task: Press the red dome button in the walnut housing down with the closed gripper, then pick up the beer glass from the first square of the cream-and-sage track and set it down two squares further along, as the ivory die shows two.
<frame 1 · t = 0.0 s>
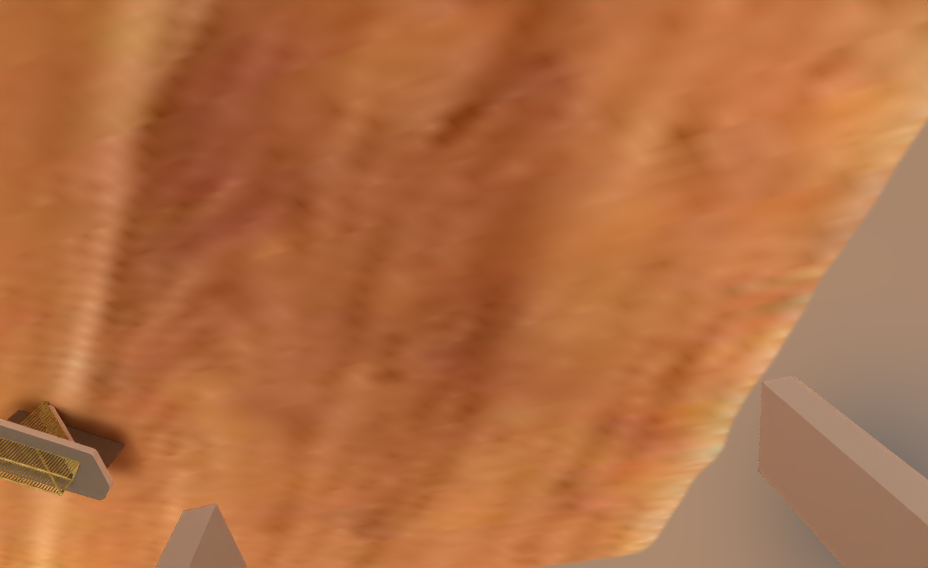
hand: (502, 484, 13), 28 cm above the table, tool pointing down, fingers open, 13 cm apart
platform: (80, 415, 42), on the table
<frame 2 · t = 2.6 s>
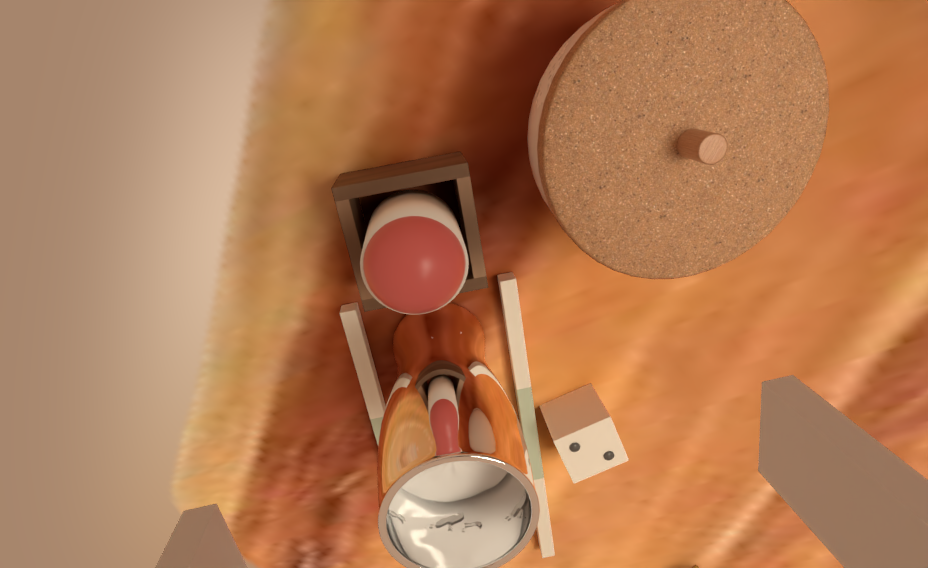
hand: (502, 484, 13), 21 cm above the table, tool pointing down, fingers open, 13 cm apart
button housing: (413, 220, 32), on the table
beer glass: (438, 341, 35), on the table
dome button: (414, 255, 26), point 6 cm above the table, slide at 0.0 cm
lidded bowl: (610, 122, 31), on the table
die: (573, 414, 39), on the table
track: (459, 438, 38), on the table
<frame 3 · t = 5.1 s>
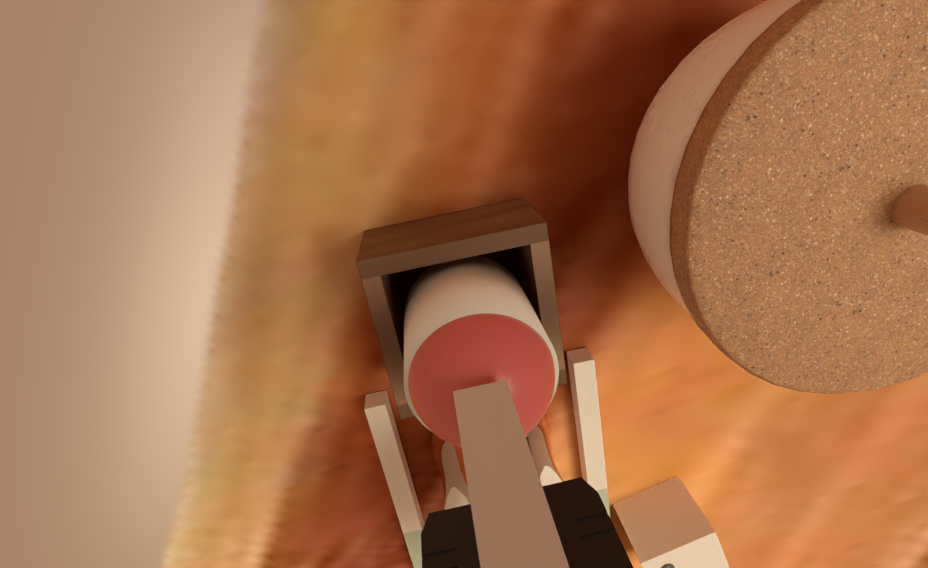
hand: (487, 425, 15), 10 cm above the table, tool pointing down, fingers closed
button housing: (459, 287, 24), on the table
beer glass: (489, 433, 28), on the table
dome button: (476, 356, 18), point 6 cm above the table, slide at -0.1 cm, touching gripper
lidded bowl: (722, 154, 23), on the table
die: (654, 512, 31), on the table
track: (512, 546, 30), on the table
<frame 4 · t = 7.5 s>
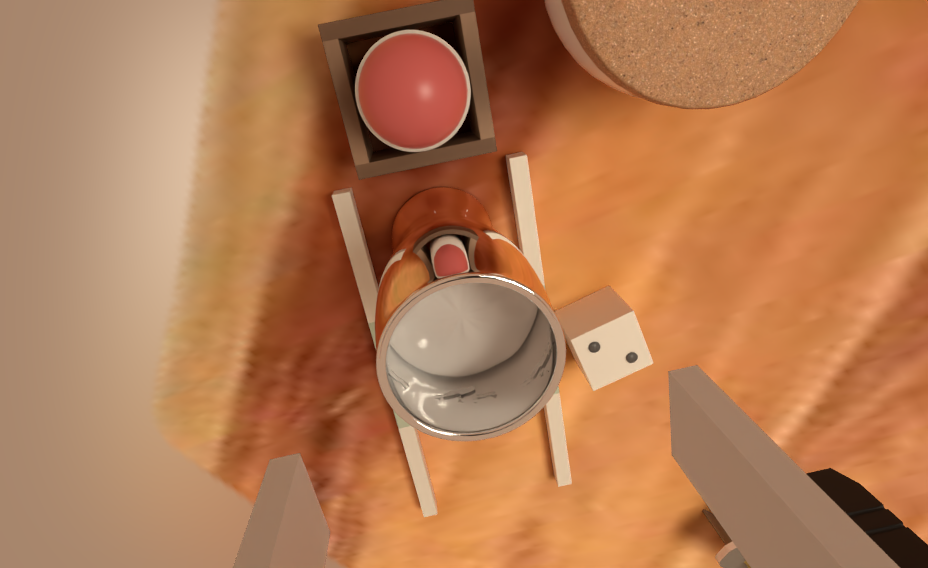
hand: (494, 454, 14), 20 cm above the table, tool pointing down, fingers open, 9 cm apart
button housing: (411, 89, 29), on the table
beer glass: (442, 235, 32), on the table
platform: (739, 513, 44), on the table
dome button: (412, 92, 24), point 5 cm above the table, slide at -1.9 cm
die: (590, 322, 35), on the table
track: (466, 350, 35), on the table
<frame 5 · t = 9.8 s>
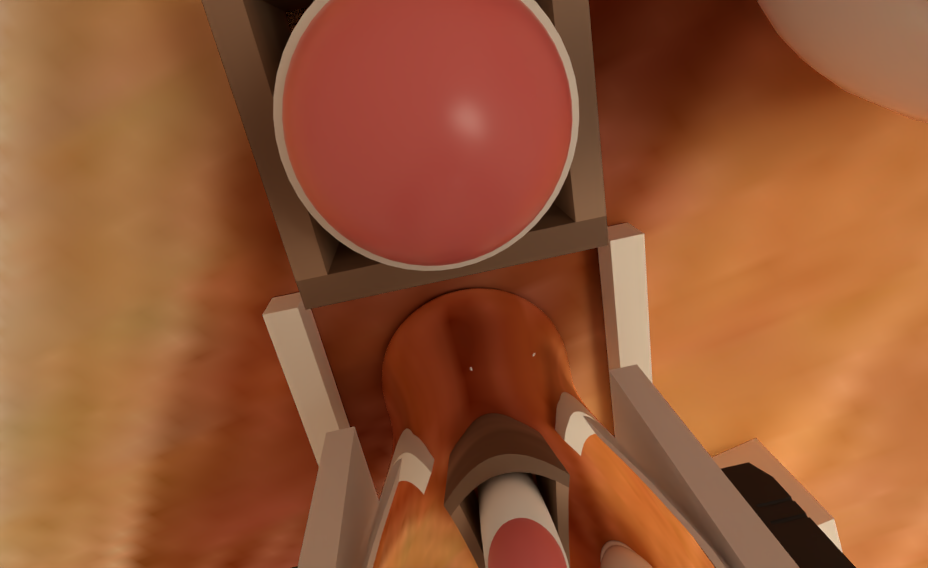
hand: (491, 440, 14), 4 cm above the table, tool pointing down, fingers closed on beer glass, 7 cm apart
button housing: (419, 106, 14), on the table
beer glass: (473, 368, 18), on the table, touching gripper
dome button: (427, 120, 10), point 5 cm above the table, slide at -1.9 cm
die: (718, 493, 21), on the table
track: (510, 543, 21), on the table
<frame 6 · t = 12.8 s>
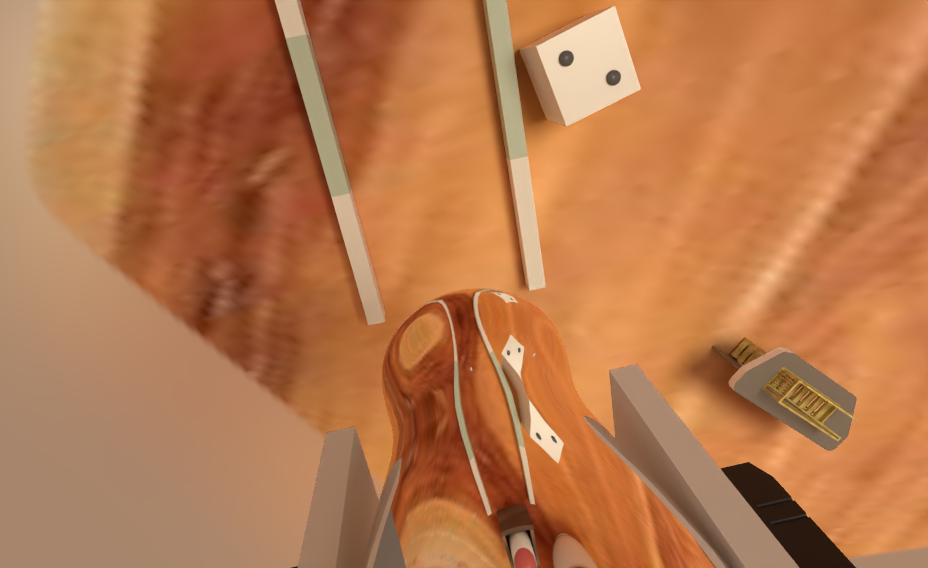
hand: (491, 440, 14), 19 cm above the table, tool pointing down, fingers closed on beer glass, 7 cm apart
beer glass: (473, 368, 18), point 15 cm above the table, touching gripper
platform: (753, 358, 38), on the table
die: (565, 68, 29), on the table
track: (413, 99, 29), on the table
when the fingers open (5 cm above the table, at t = 15.7 s): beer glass drops 1 cm, on the table.
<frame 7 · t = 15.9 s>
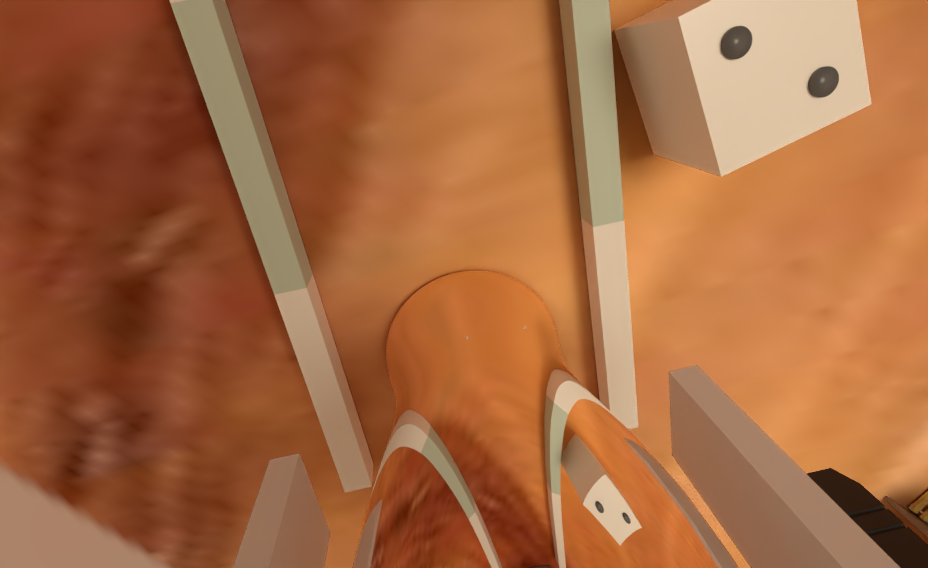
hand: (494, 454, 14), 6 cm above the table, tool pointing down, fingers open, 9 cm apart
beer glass: (471, 345, 19), on the table
die: (693, 64, 16), on the table
track: (421, 120, 16), on the table
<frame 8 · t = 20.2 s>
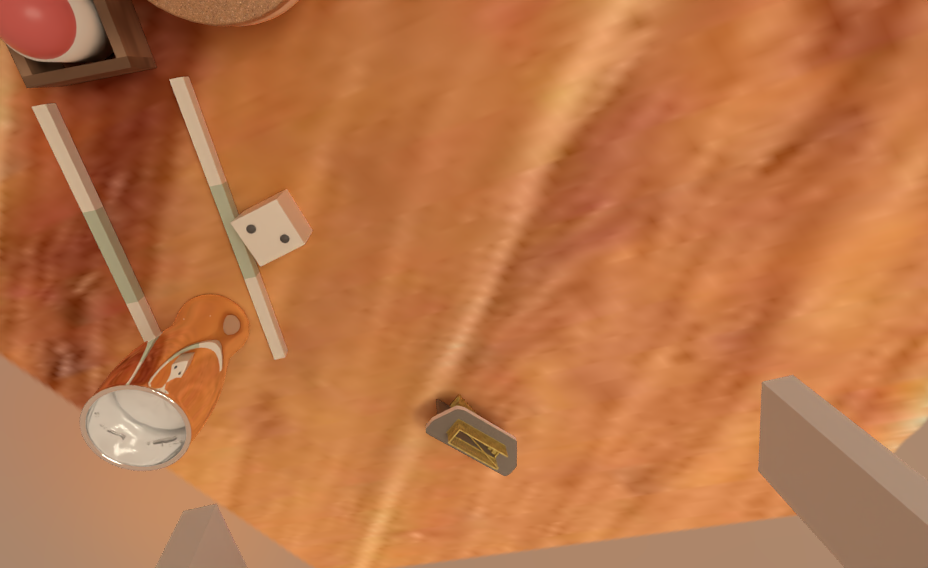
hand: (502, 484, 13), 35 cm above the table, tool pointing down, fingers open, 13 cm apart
button housing: (88, 25, 38), on the table
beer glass: (214, 324, 47), on the table
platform: (472, 407, 54), on the table
dome button: (49, 19, 34), point 5 cm above the table, slide at -1.9 cm
die: (279, 220, 45), on the table
track: (178, 241, 44), on the table
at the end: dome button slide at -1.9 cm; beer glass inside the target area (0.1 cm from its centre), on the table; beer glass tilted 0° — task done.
